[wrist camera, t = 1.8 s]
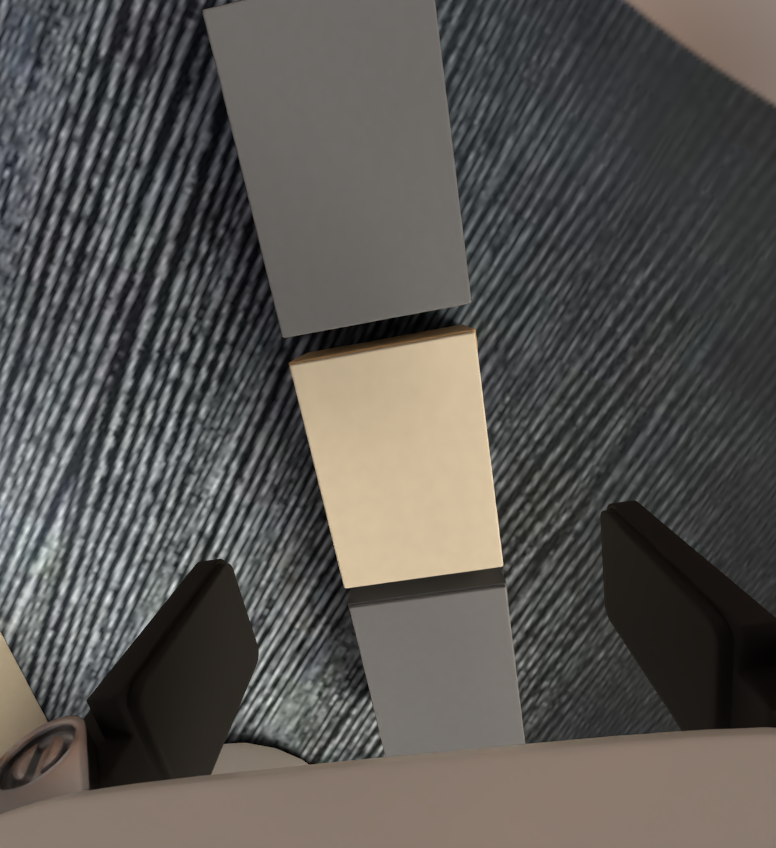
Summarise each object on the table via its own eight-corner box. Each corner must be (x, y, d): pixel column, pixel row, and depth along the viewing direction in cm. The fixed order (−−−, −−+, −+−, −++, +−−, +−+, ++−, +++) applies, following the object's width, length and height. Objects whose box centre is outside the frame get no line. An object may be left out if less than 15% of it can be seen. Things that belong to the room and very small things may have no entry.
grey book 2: (354, 560, 22) (347, 606, 19) (490, 540, 21) (507, 584, 18) (389, 706, 25) (387, 770, 21) (509, 692, 24) (527, 755, 21)
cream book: (306, 352, 19) (286, 363, 16) (462, 323, 18) (476, 328, 15) (351, 545, 22) (342, 589, 18) (488, 525, 21) (505, 567, 18)
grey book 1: (240, 67, 16) (198, 5, 13) (423, 24, 16) (430, -54, 12) (301, 332, 19) (280, 338, 15) (459, 303, 18) (473, 303, 15)
